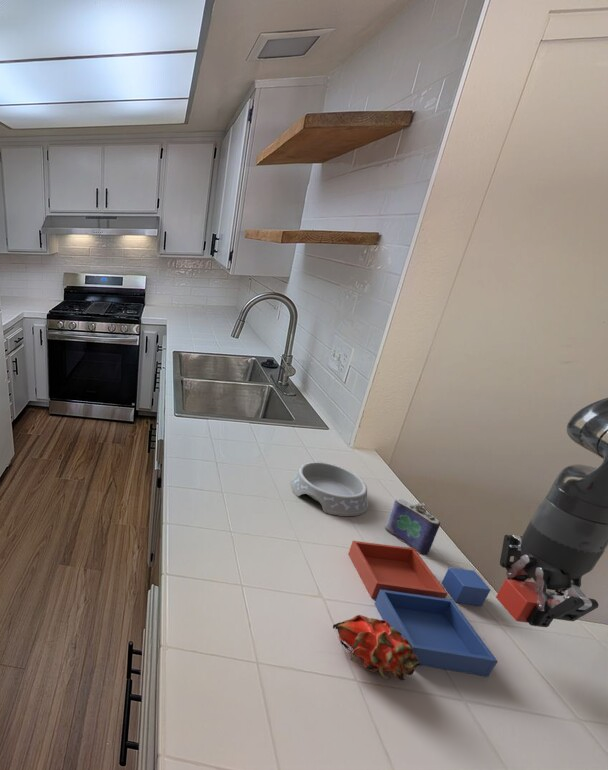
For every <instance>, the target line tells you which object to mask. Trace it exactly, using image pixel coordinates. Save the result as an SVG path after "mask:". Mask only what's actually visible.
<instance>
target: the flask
mask: <svg viewBox="0 0 608 770" xmlns="http://www.w3.org/2000/svg"><path fill="white" fill-rule="evenodd" d="M424 506H426V503H424V502H421V501H419V502H418V503H414V504H413V503H411V502H409V501H407V500H405V499H403V498H396V499H395V500H394V502H393V506H392V509H391V511H390V514H389V516H388V519H387V521H386V524H385V527H384V529H385V531H387V532H388V533H389V534H390V535H392V536H394V537H395V538H397V540H399V541H401V542H403V543H405V544H406V545H407V546H409V547H410V548H414V549H415V550H416V552H417V553H418V554H419V555H420V554H421V555H423V556H426V555H429V552H430V551H431V549H432V545H433V542H434V540H435V538H436V536H437V533H438V530H439V528H440V526H441V522H440V520H439V519H437V518H436V517H435V516H434V515H433V514H430V513H429V512H427V509H426V508H424Z"/></svg>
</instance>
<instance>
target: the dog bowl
mask: <svg viewBox="0 0 608 770" xmlns="http://www.w3.org/2000/svg"><path fill="white" fill-rule="evenodd" d="M290 485H291V489H292V491H293V493H294V494H295V496H297V497H298V498H299V497H301V496H302V495H305V494H306V495H308V496H309V497H310V498H311V499H312V500H315V501H316V502H318V503H319V504H320V505H321V507H322V511H323V512H324V513H326V514H329V515H333V516H339V517H357V516H360V515H362V514H363V513H365V512H366V511H367V509H368V486H367V484H366V482H365V481H364V479H362V478H361V477H360V476H359V475H358V474H356V473H355V472H353V471H352V470H350V469H348V468H345V467H342V466H341V465H337V464H334V463H330V462H324V461H310V462H306V463H303V464H302V465H301V466H300V467H299V469H298V470H297V472H296V473H295V475H294V477H293V478H292V480H291V482H290Z"/></svg>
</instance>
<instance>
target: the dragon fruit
mask: <svg viewBox="0 0 608 770" xmlns="http://www.w3.org/2000/svg"><path fill="white" fill-rule="evenodd" d="M332 629H335V630H337V632H338V635H339V636H338V640H339V642H340V644H341V645H342V646H343V647H344V648H345V649H346V650H347V651H349V655H350V660H351V661H352V662H354V663H358V661H357V658H361V659H362V660H363V662H364V663H363V668H364V669H366V670H367V671H369V672H370V671H371V672H374V673H375V672H377V671H379V672H378V673H379V674H380V675H381V677H382V678H383V679H385V680H390V679H391V675H387V676H386V674H387V673H388V672H389V671H390V672H391V673H392V674H393V676H394V677H395V678H397V679H398V680H399V681H405V680H406V679H405V675H407V676H412V675H413V674H414V672H415V670H416V669H415V668H417V667H421V665H420V663H419V661H418V658H417V656H416V655H415V654H413V652H414V651H413V647H412V645H411V644H410V643H409V641H408V640H407V639H405V638H404V639H403V638H402V634H401V633H400V632H399V631H397V630H396V629H395V628H393V627H391V626H390V625H389V623H388V622H387V621H385V620H383V619H378V618H371V617H368V616H365V615H362V614H357V615H355V616H354V617H352V618H349V619H345V620H344V621H343V620H342V621H339V622H337V623H335V624H333V625H332ZM335 630H334V632H336V631H335ZM351 649H352V650H351ZM369 666H373V667H369Z"/></svg>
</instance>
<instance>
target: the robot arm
mask: <svg viewBox="0 0 608 770" xmlns="http://www.w3.org/2000/svg"><path fill="white" fill-rule="evenodd" d="M566 433H567V436H568V437H569V438H570V439H571V440H572V441H573V442H574V443H575V444H577V445H579V446H580V447H582V448H584V449H585V450H587V451H589V452H590V453H592V454H594V455H595V456H597V457H600V458H601V459H602V463H601V464H600V465H599V466H598V467H597V466H593V465H588V464H569V465H566V466H565V467H564V468H563V469H561V470H560V471H559V473H558V474H557V476H556V477H555V479H554V481H553V483H552V485H551V487H550V489H549V491H548V492H547V494H546V496H545V498H543V500H542V501H541V502H540V503H539V504H538V506H537V507H536V510H535V511H534V513H533V515H532V517H531V518H530V520H529V522H528V525H527V527H526V528H525V530H524V532H523V534H522V535H517V534H516V535H515V534H505V535H504V537H503V541H502V547H501V552H500V559H499V565H500V567H501V568H504V569H505V570H506V573H505V574H506V576H507V578H506V579H511V580H519V581H527V582H529V581H530V580H532V579H533V582H535V583H536V584H535V593H536V594H538V597H537V603H536V606H534V608H533V609H532V611H531V613H530V614H529V616H528V618H527V619H526V621H527V622H528V623H527V624H528V625H530V626H532V627H537V628H538V627H539V628H549V626H551V623H552V622H553V620H559V621H565V622H566V621H567V622H575V621H577V620H579V619H580V618H582V617H584V616H586V615H587V614H590V612H592V611H594V610H596V609H598V608H599V602H598V601H597V600H596V599H594V598H591V597H587V595H586V594H585V593H584V592H583V590H582V589H581V587H582V578H583V576H585V575H587V574H588V573H590V572H591V571H593V570H594V568H595V567H596V565H597V563H598V562H599V561H600V559H601V558H602V556H603V555H604V553H605V551H606V550H607V548H608V397H605V398H602V399H600V400H596V401H594V402H591V403H589V404H588V405H586V406H583V407H582V408H580V409H579V410H577V412H575V413H574V414H573V415H572V416H571V418H569V420H568V422H567V424H566ZM511 557H513V561H512V560H511ZM549 599H552V602H551V604H548V600H549Z"/></svg>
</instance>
